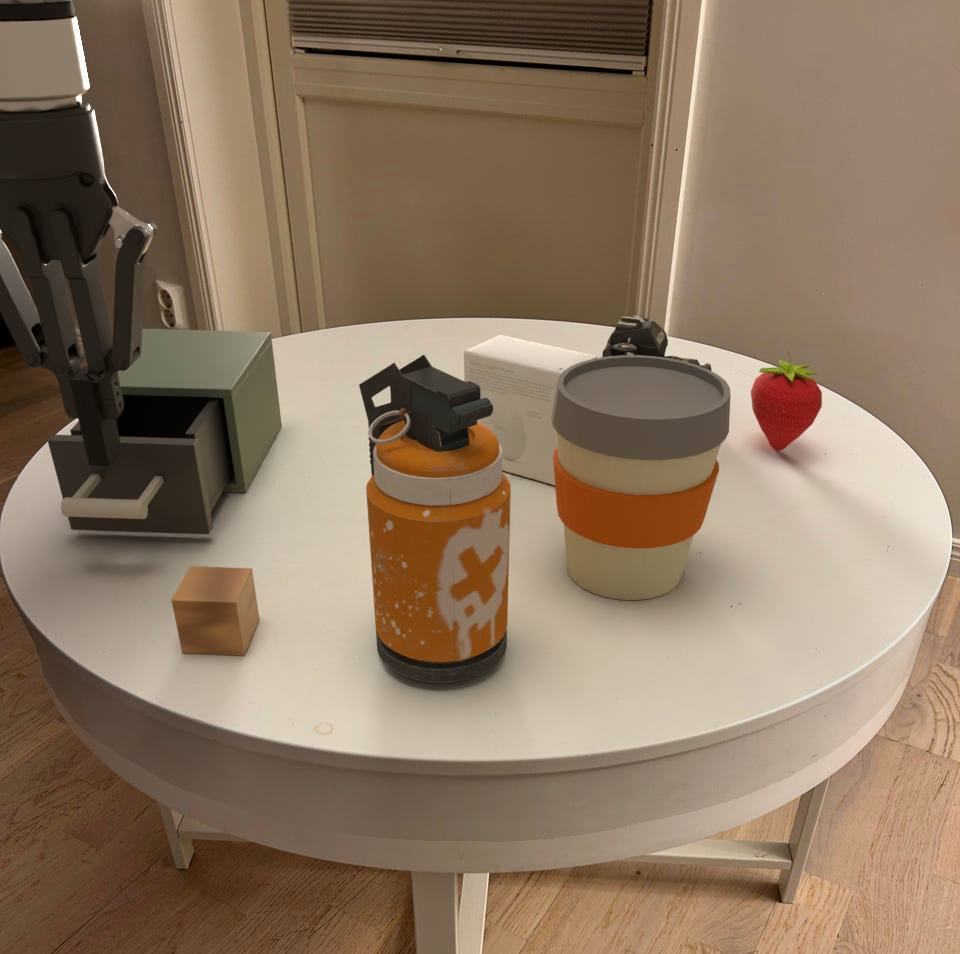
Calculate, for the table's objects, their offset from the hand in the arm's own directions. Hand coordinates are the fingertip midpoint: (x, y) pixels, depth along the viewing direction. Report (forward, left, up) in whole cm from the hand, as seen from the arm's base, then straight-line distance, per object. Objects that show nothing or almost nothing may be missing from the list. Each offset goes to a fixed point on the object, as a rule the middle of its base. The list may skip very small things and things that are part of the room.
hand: (105, 457), depth 74 cm
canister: (+25, -10, -9) cm, 29 cm away
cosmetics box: (+31, +20, -9) cm, 38 cm away
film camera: (+43, +30, -9) cm, 53 cm away
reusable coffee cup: (+39, +1, -9) cm, 40 cm away
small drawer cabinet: (0, +19, -9) cm, 21 cm away
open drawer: (0, +6, -8) cm, 10 cm away
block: (+10, -10, -9) cm, 17 cm away
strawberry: (+55, +24, -9) cm, 61 cm away
